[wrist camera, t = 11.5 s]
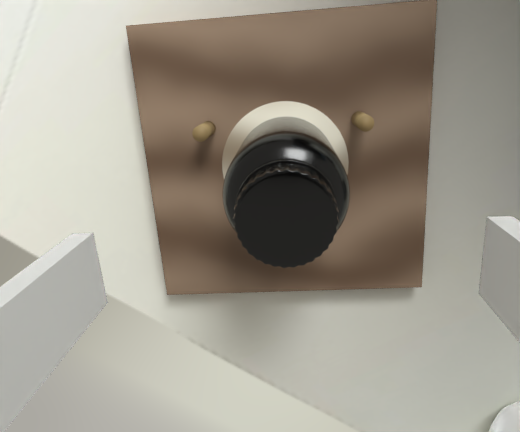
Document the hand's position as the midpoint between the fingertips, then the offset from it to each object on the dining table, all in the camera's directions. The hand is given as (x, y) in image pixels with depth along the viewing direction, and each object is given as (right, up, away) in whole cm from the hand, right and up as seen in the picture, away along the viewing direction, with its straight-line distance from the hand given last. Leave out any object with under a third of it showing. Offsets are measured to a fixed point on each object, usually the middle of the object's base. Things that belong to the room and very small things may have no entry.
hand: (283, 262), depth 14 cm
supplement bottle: (+1, +5, +16) cm, 17 cm away
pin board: (+1, +6, +17) cm, 18 cm away
